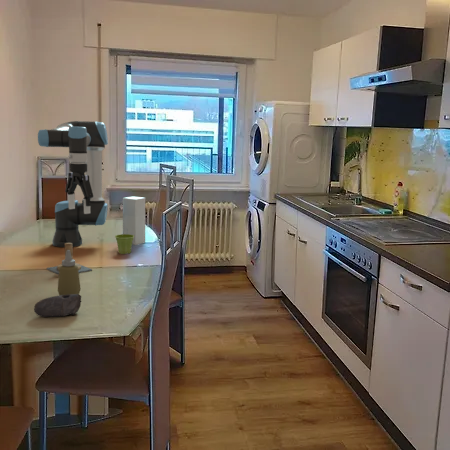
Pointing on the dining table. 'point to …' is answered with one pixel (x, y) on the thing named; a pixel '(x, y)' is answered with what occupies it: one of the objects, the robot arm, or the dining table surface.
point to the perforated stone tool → (58, 305)
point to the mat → (83, 269)
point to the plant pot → (124, 243)
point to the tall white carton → (134, 218)
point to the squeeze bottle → (68, 276)
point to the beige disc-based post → (70, 247)
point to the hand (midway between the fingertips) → (79, 211)
